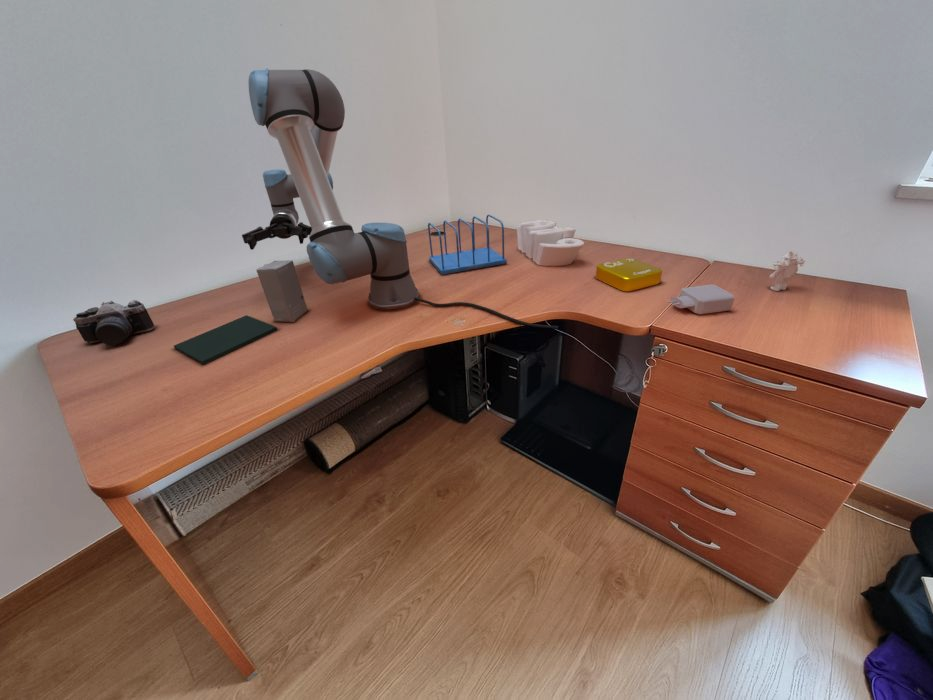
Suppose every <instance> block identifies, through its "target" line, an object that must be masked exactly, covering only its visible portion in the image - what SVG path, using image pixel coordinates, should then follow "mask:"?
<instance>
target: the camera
mask: <svg viewBox="0 0 933 700" xmlns="http://www.w3.org/2000/svg"><path fill="white" fill-rule="evenodd" d="M72 321H73V322H74V324H75V328H76V329H77V331H78V333H79V334H80V336H81V338H82V340H83V341H84V342H85V343H88V344H94V343H100V342H102V343H103V344H105V345H108V346H115V345H120V344H122V343H123V342H125V340H127V339H128V337H130V336H133V335H137V334H141V333H147V332H150V331H152V330H154V329H155V323H154V322H153V319H152V318H151V316H150V314H149V311H148V310H147V308H146V307H145V305H144V303H143V302H141V301H139V300H137V299H132V300H130V301H129V302H128V304H127V305H123V304H120V303H118V302H114V301H113V300H110V301H107V302H104V301H102V302H101V304H100V307H97V306H94V307H90V308H88V309H86V310H84V311H82V312H78V313H76V314H75V316H74V318H73V319H72Z"/></svg>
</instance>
